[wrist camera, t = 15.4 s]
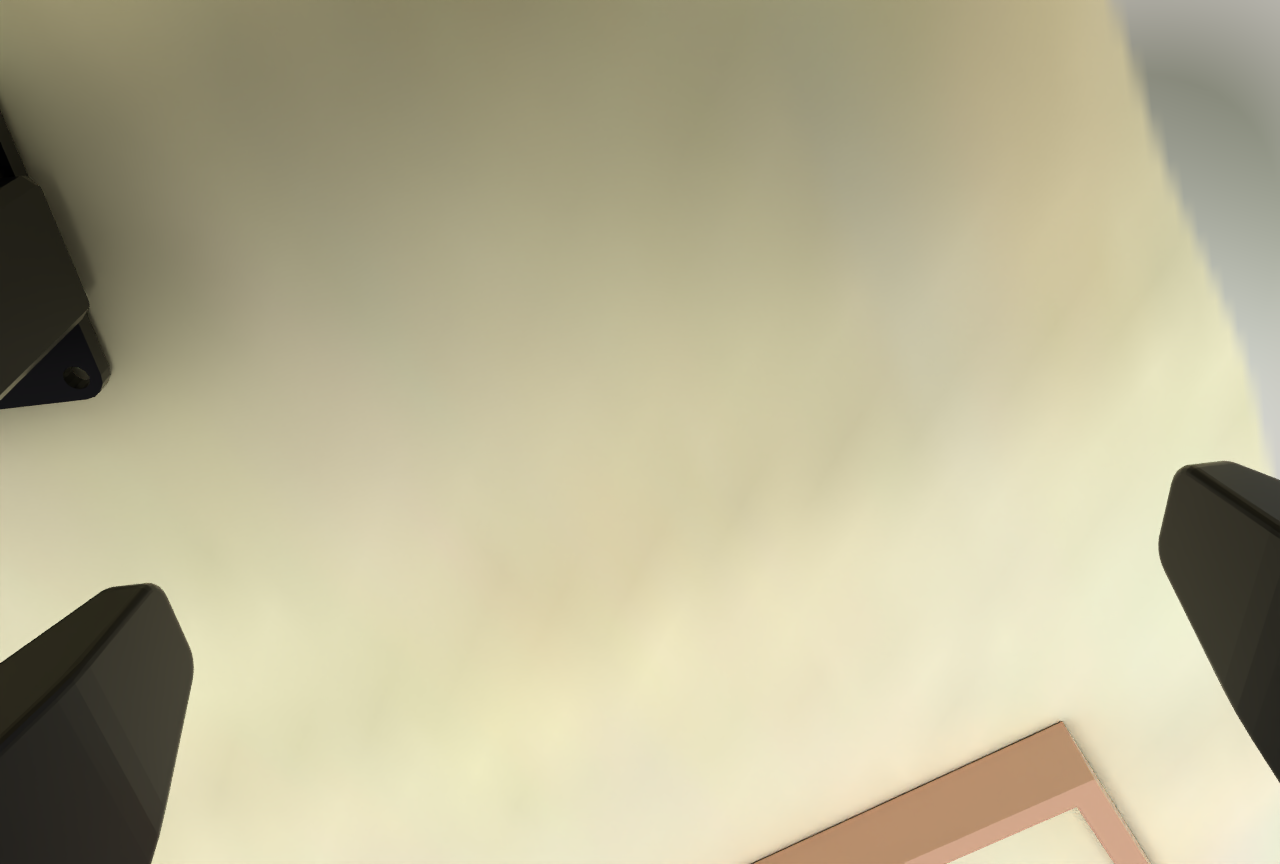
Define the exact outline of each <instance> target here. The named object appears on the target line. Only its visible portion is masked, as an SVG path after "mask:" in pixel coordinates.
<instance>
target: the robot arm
mask: <svg viewBox="0 0 1280 864" xmlns="http://www.w3.org/2000/svg"><path fill="white" fill-rule="evenodd" d="M88 309H89V301H88V299H87V296H86V294H85V291H84V289H83V287H82V284H81V282H80V280H79V277H78V275H77V272H76V270H75V268H74V265H73V263H72V260H71V258H70V256H69V253H68V251H67V249H66V246H65V244H64V241H63V239H62V237H61V234H60V232H59V230H58V227H57V225H56V222H55V220H54V218H53V215H52V213H51V211H50V208H49V206H48V203H47V201H46V199H45V196H44V194H43V192H42V189H41V187H40V186H38V185H37V184H36V183H35V182H33V181H32V180H31V179H30V178H29V177H28V174H27V172H26V170H25V167H24V165H23V163H22V160H21V158H20V155H19V153H18V151H17V148H16V146H15V144H14V141H13V139H12V137H11V134H10V132H9V130H8V127H7V125H6V122H5V120H4V118H3V115H2V113H1V111H0V409H7V408H15V407H24V406H33V405H42V404H50V403H59V402H68V401H76V400H85V399H89V398H92V397H95V396H96V395H97V394H98V393H99V392H100V391H101V390H102V389H103V388H104V386H105V385H106V384H107V383H108V381H109V378H110V375H111V374H110V369H109V365H108V363H107V360H106V358H105V356H104V353H103V351H102V349H101V346H100V344H99V341H98V339H97V337H96V334H95V332H94V330H93V327H92V325H91V323H90V320H89V318H88V316H87V313H86V312H87V310H88ZM72 367H79V368H80V369H82V370H84V371H85V372H86V373H87V374H88V376H89V378H90V380H86V379H81V378H80V377H78V376H76V375H75V373H74V372H73V371H72ZM1159 556H1160V560H1161V563H1162V566H1163V569H1164V571H1165V573H1166V575H1167V577H1168V579H1169V581H1170V583H1171V585H1172V587H1173V589H1174V591H1175V593H1176V595H1177V597H1178V599H1179V601H1180V603H1181V605H1182V607H1183V609H1184V611H1185V613H1186V615H1187V617H1188V619H1189V621H1190V623H1191V625H1192V627H1193V629H1194V631H1195V633H1196V635H1197V637H1198V639H1199V641H1200V644H1201V646H1202V648H1203V650H1204V652H1205V654H1206V656H1207V658H1208V660H1209V662H1210V664H1211V666H1212V668H1213V670H1214V672H1215V674H1216V676H1217V678H1218V680H1219V682H1220V684H1221V686H1222V688H1223V690H1224V692H1225V694H1226V695H1227V697H1228V699H1229V701H1230V703H1231V705H1232V707H1233V708H1234V710H1235V712H1236V714H1237V715H1238V717H1239V719H1240V720H1241V722H1242V724H1243V725H1244V727H1245V729H1246V730H1247V732H1248V734H1249V735H1250V737H1251V739H1252V740H1253V742H1254V743H1255V745H1256V746H1257V748H1258V750H1259V751H1260V753H1261V754H1262V756H1263V757H1264V759H1265V761H1266V762H1267V764H1268V765H1269V767H1270V768H1271V770H1272V771H1273V773H1274V775H1275V776H1276V778H1277V779H1278V781H1279V782H1280V480H1278V479H1276V478H1273V477H1271V476H1268V475H1265V474H1263V473H1260V472H1258V471H1255V470H1252V469H1250V468H1247V467H1245V466H1242V465H1239V464H1237V463H1234V462H1229V461H1218V462H1209V463H1201V464H1192V465H1186V466H1184V467H1182V468H1180V469H1179V470H1178V471H1177V472H1176V474H1175V475H1174V477H1173V480H1172V483H1171V488H1170V492H1169V496H1168V501H1167V505H1166V509H1165V514H1164V518H1163V522H1162V527H1161V531H1160V535H1159ZM193 670H194V666H193V657H192V653H191V650H190V647H189V645H188V642H187V640H186V638H185V636H184V634H183V631H182V629H181V627H180V625H179V622H178V620H177V618H176V616H175V613H174V611H173V609H172V607H171V605H170V602H169V600H168V598H167V596H166V594H165V593H164V591H163V590H162V589H161V588H160V587H159V586H157V585H155V584H152V583H143V584H134V585H125V586H116V587H111V588H108V589H105V590H103V591H102V592H100V593H99V594H97V595H96V596H94V597H93V598H92V599H90V600H89V601H87V602H86V603H85V604H83V605H82V606H80V607H79V608H78V609H76V610H75V611H73V612H72V613H70V614H69V615H68V616H66V617H65V618H63V619H62V620H61V621H59V622H58V623H56V624H55V625H54V626H52V627H51V628H49V629H48V630H46V631H45V632H44V633H42V634H41V635H39V636H38V637H37V638H35V639H34V640H32V641H31V642H30V643H28V644H27V645H25V646H24V647H22V648H21V649H20V650H18V651H17V652H15V653H14V654H13V655H11V656H10V657H8V658H7V659H6V660H4V661H3V662H1V663H0V864H151V862H152V859H153V855H154V852H155V849H156V845H157V842H158V839H159V835H160V831H161V827H162V823H163V818H164V814H165V810H166V805H167V801H168V796H169V791H170V786H171V781H172V777H173V772H174V767H175V762H176V757H177V753H178V748H179V743H180V738H181V733H182V728H183V724H184V719H185V714H186V709H187V704H188V700H189V695H190V690H191V685H192V680H193Z"/></svg>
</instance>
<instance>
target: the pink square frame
mask: <svg viewBox="0 0 1280 864" xmlns="http://www.w3.org/2000/svg"><path fill="white" fill-rule="evenodd" d="M1075 807H1078V809H1079V810H1080V812H1081V814H1082V815H1083V817H1084V818H1085V820H1086V821H1087V823H1088V824H1089V826H1090V827H1091V829H1092V830H1093V832H1094V833H1095V835H1096V836H1097V838H1098V839H1099V841H1100V842H1101V844H1102V845H1103V847H1104V848H1105V850H1106V851H1107V853H1108V854H1109V856H1110V857H1111V859H1112V860H1113V862H1114V863H1115V864H1151V862H1150V861H1149V859H1148V858H1147V856H1146V854H1145V853H1144V851H1143V850H1142V848H1141V846H1140V845H1139V843H1138V842H1137V840H1136V838H1135V837H1134V835H1133V834H1132V832H1131V830H1130V829H1129V827H1128V826H1127V824H1126V822H1125V821H1124V819H1123V818H1122V816H1121V814H1120V813H1119V811H1118V810H1117V808H1116V806H1115V805H1114V803H1113V802H1112V800H1111V798H1110V797H1109V795H1108V794H1107V792H1106V790H1105V789H1104V787H1103V786H1102V784H1101V782H1100V781H1099V779H1098V778H1097V776H1096V775H1095V773H1094V771H1093V770H1092V768H1091V767H1090V765H1089V763H1088V762H1087V760H1086V759H1085V757H1084V755H1083V754H1082V752H1081V751H1080V749H1079V747H1078V746H1077V744H1076V743H1075V741H1074V739H1073V738H1072V736H1071V735H1070V733H1069V731H1068V730H1067V728H1066V727H1065V725H1064V723H1063V722H1060V723H1058V724H1056V725H1054V726H1052V727H1050V728H1047V729H1045V730H1043V731H1041V732H1039V733H1036V734H1034V735H1032V736H1030V737H1028V738H1026V739H1023V740H1021V741H1019V742H1017V743H1015V744H1013V745H1010V746H1008V747H1006V748H1004V749H1002V750H999V751H997V752H995V753H993V754H991V755H989V756H986V757H984V758H982V759H980V760H978V761H976V762H973V763H971V764H969V765H967V766H965V767H962V768H960V769H958V770H956V771H954V772H952V773H949V774H947V775H945V776H943V777H941V778H939V779H936V780H934V781H932V782H930V783H928V784H925V785H923V786H921V787H919V788H917V789H915V790H912V791H910V792H908V793H906V794H904V795H902V796H899V797H897V798H895V799H893V800H891V801H888V802H886V803H884V804H882V805H880V806H878V807H875V808H873V809H871V810H869V811H867V812H865V813H862V814H860V815H858V816H856V817H854V818H851V819H849V820H847V821H845V822H843V823H841V824H838V825H836V826H834V827H832V828H830V829H828V830H825V831H823V832H821V833H819V834H817V835H814V836H812V837H810V838H808V839H806V840H804V841H801V842H799V843H797V844H795V845H793V846H791V847H788V848H786V849H784V850H782V851H780V852H777V853H775V854H773V855H771V856H769V857H767V858H764V859H762V860H760V861H758V862H756V863H754V864H947V863H949V862H951V861H954V860H956V859H958V858H960V857H963V856H965V855H967V854H970V853H972V852H974V851H977V850H979V849H981V848H983V847H986V846H988V845H990V844H993V843H995V842H997V841H999V840H1002V839H1004V838H1006V837H1009V836H1011V835H1013V834H1016V833H1018V832H1020V831H1022V830H1025V829H1027V828H1029V827H1032V826H1034V825H1036V824H1038V823H1041V822H1043V821H1045V820H1048V819H1050V818H1052V817H1055V816H1057V815H1059V814H1061V813H1064V812H1066V811H1068V810H1071V809H1073V808H1075Z"/></svg>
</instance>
